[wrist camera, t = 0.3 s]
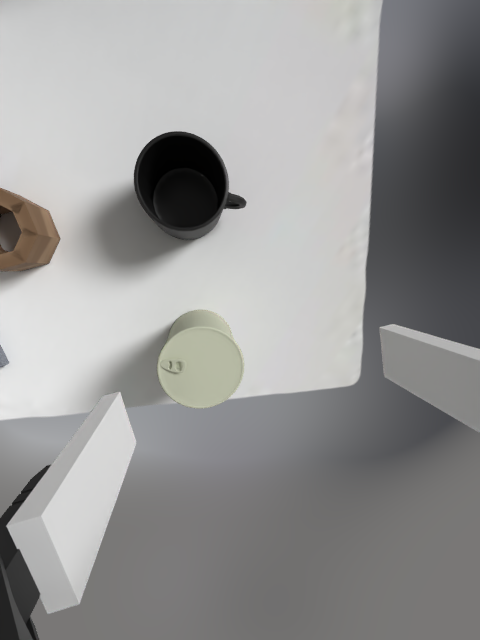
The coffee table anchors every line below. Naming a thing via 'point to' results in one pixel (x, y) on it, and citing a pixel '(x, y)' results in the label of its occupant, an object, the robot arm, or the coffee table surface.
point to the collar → (28, 234)
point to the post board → (3, 358)
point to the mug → (183, 184)
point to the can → (200, 361)
